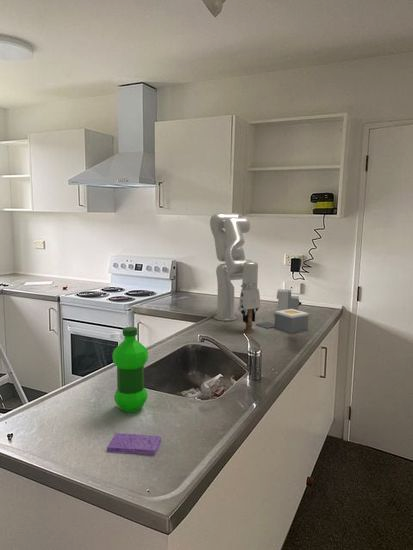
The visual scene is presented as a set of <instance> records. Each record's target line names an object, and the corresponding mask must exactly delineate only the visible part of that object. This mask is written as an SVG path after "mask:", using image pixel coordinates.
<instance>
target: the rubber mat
mask: <svg viewBox="0 0 413 550" xmlns="http://www.w3.org/2000/svg"><path fill="white" fill-rule="evenodd" d="M255 326H258V327H260V328H264V329H267V330H269V329H273V328H274V329H275V323H273V322H270V321H267V322H266V321H264V322H259V323H256V324H255Z"/></svg>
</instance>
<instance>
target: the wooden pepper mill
mask: <svg viewBox="0 0 413 550" xmlns="http://www.w3.org/2000/svg"><path fill="white" fill-rule="evenodd" d="M247 315H248V323H245V328H244V329H243V330H244V333H247V334H251V333H254V329H253V321H252V309H249V310H248V311H247Z"/></svg>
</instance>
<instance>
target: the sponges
mask: <svg viewBox="0 0 413 550" xmlns="http://www.w3.org/2000/svg"><path fill="white" fill-rule="evenodd" d="M161 440H162V435H147V434H139V433H138V434H137V433H127V432H126V433H123V432H115V433H114V434H113V436H112V438H111V441H110V442H109V443H108V445H107V446H106V447H107V448H106V452H114V453H126V454H140V455H149V456H156V453H157V451H158V449H159V446H160V444H161V442H162V441H161Z"/></svg>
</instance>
